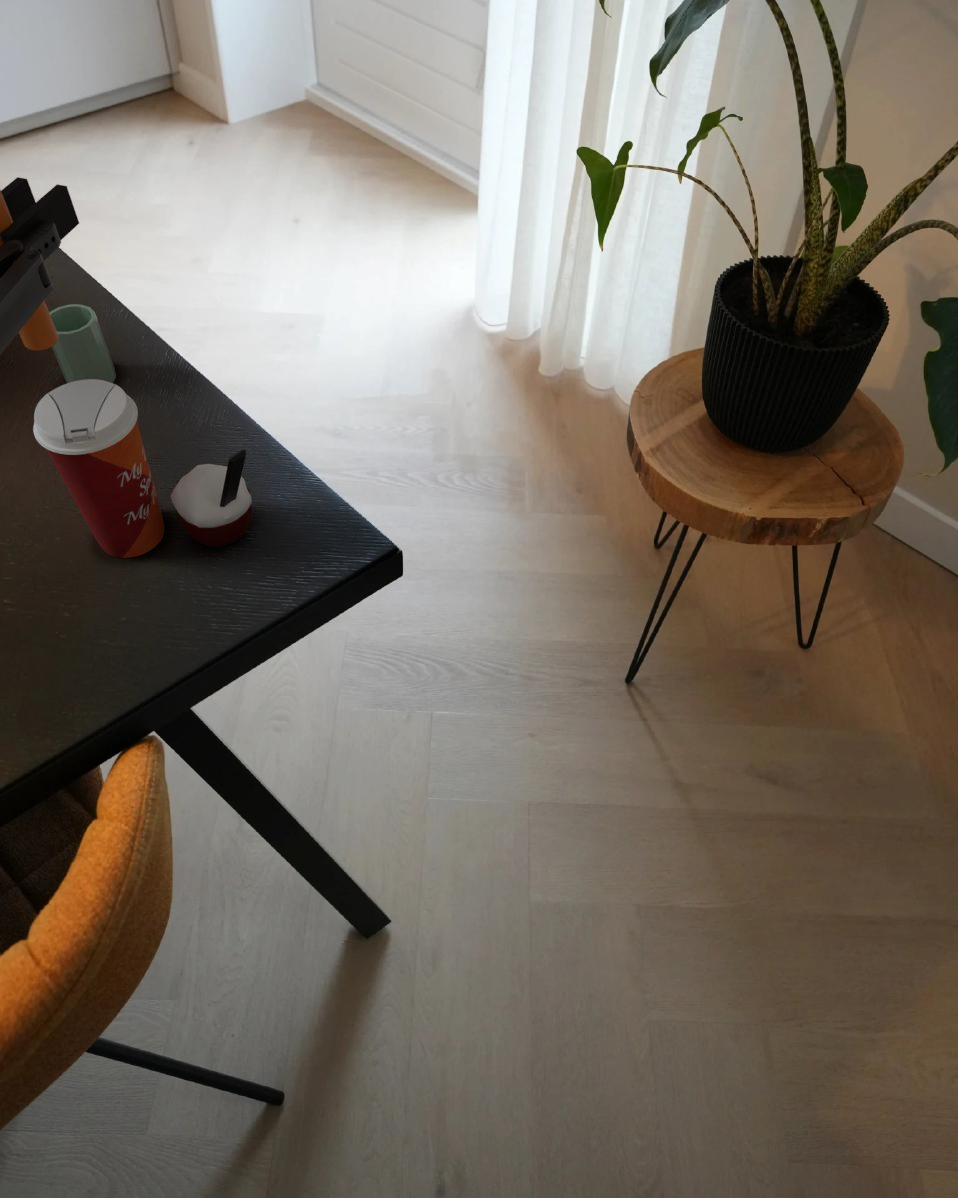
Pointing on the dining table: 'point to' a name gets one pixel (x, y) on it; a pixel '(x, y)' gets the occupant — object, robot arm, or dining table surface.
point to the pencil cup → (81, 345)
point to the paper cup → (102, 463)
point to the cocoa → (214, 502)
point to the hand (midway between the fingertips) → (48, 200)
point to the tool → (40, 325)
